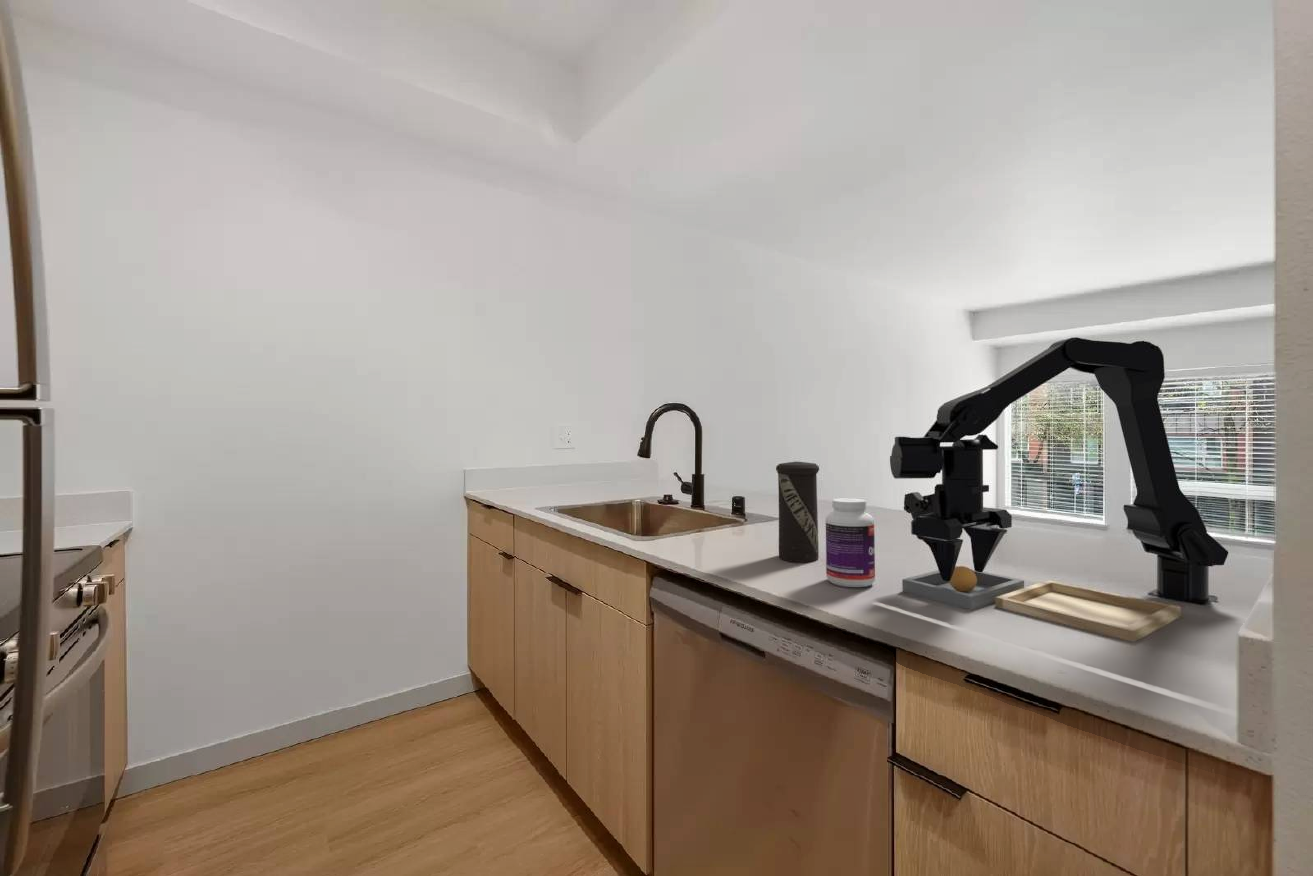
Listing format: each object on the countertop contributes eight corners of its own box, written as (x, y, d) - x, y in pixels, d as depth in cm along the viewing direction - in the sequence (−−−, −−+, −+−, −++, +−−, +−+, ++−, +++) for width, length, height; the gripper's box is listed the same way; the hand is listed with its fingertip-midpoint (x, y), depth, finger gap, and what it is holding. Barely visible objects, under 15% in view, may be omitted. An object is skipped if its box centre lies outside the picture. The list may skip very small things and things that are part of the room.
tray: (955, 579, 96) (955, 565, 96) (1024, 595, 86) (1024, 580, 86) (902, 594, 88) (902, 579, 88) (971, 613, 79) (971, 596, 79)
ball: (982, 592, 87) (982, 567, 87) (968, 596, 84) (968, 571, 84) (957, 586, 90) (957, 562, 90) (943, 590, 88) (943, 565, 88)
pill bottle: (879, 590, 90) (878, 503, 90) (828, 588, 92) (827, 502, 92) (870, 577, 98) (869, 497, 98) (823, 575, 100) (823, 496, 99)
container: (778, 562, 110) (777, 463, 109) (775, 552, 119) (774, 460, 118) (822, 563, 108) (821, 462, 108) (817, 553, 117) (816, 460, 117)
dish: (1048, 591, 88) (1048, 580, 88) (1180, 620, 75) (1180, 606, 75) (995, 609, 80) (995, 597, 80) (1133, 645, 66) (1133, 631, 66)
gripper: (946, 472, 99) (947, 558, 99) (880, 478, 89) (881, 574, 89) (1013, 476, 89) (1013, 571, 89) (947, 483, 79) (948, 590, 80)
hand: (962, 576), depth 87 cm, fingers open, 9 cm apart
